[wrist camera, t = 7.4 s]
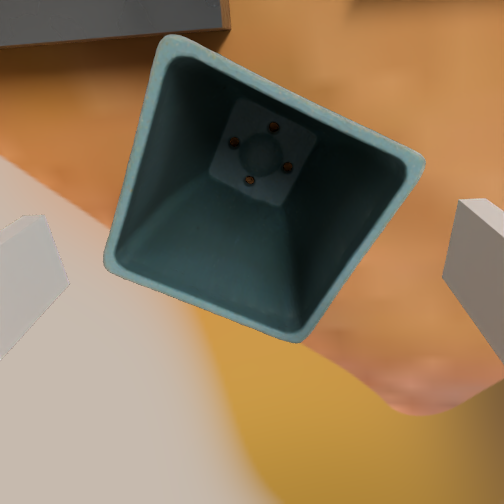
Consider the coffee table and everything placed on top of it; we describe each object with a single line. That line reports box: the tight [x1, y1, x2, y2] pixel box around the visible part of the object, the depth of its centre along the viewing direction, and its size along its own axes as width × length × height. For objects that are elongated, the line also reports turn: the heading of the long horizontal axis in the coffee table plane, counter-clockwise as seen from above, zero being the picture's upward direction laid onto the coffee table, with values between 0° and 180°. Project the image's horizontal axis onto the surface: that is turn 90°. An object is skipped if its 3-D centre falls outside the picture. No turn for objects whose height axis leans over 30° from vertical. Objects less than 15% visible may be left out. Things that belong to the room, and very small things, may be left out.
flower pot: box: [103, 34, 426, 343], centre depth 17 cm, size 9×9×9 cm
